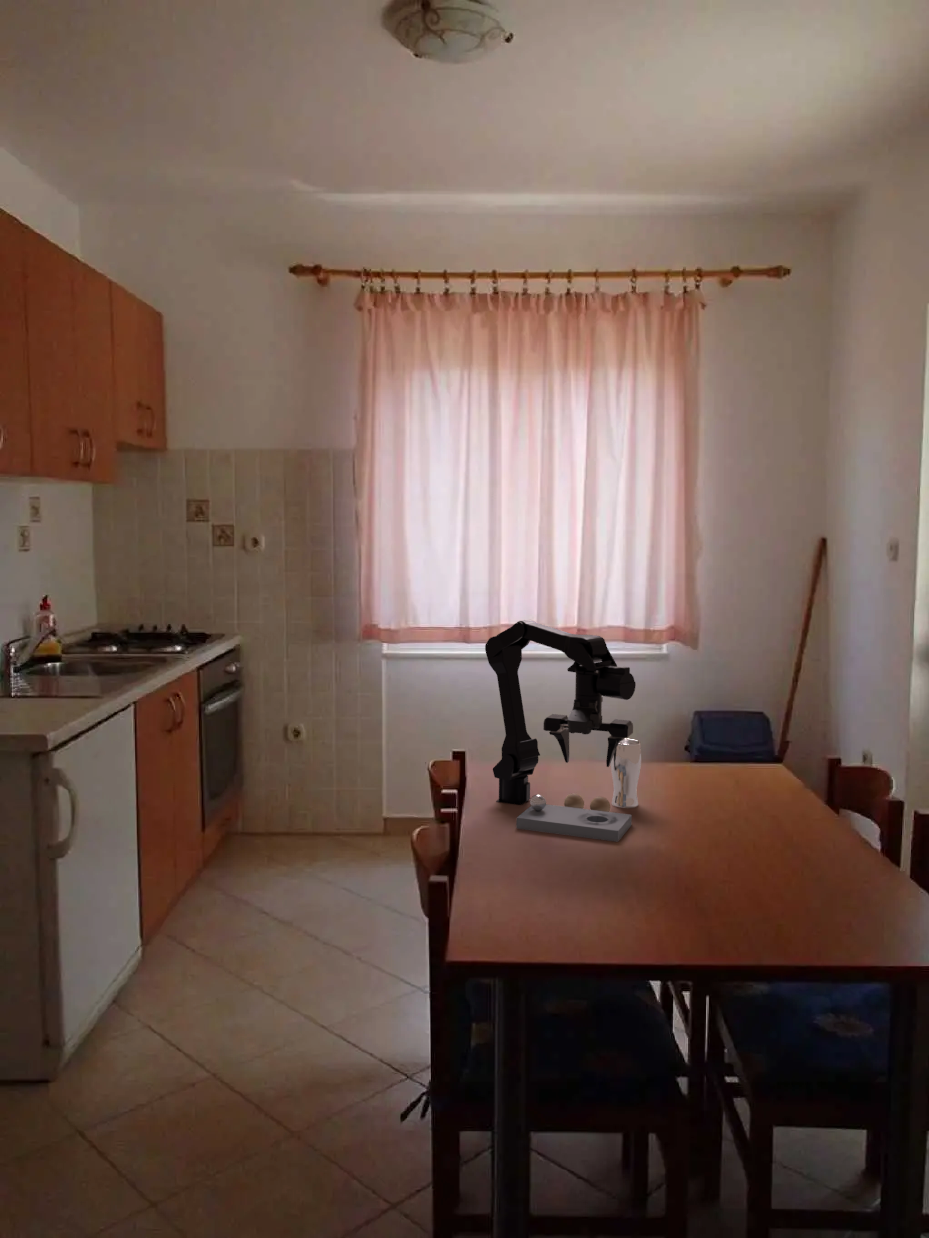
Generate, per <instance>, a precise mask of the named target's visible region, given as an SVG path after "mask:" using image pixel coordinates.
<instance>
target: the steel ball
mask: <svg viewBox="0 0 929 1238" xmlns="http://www.w3.org/2000/svg"><path fill="white" fill-rule="evenodd" d="M529 803H530V804H529V805H530V806H531V807H532V808H533V809H534V810H536V811H541V810H543V809H544V808H545V806H546V804H547V800H546V798H545V797H544V796H543V795H542V794H534V795H533V796H532V797H530V799H529Z"/></svg>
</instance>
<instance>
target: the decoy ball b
mask: <svg viewBox="0 0 929 1238" xmlns="http://www.w3.org/2000/svg"><path fill="white" fill-rule="evenodd" d="M589 810H597V811H605V812H611V803H610V801H609V799H607V798H606V797H604V796H600V795H599V796H595V797H594V798H592V800H591V801H590V804H589Z"/></svg>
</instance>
